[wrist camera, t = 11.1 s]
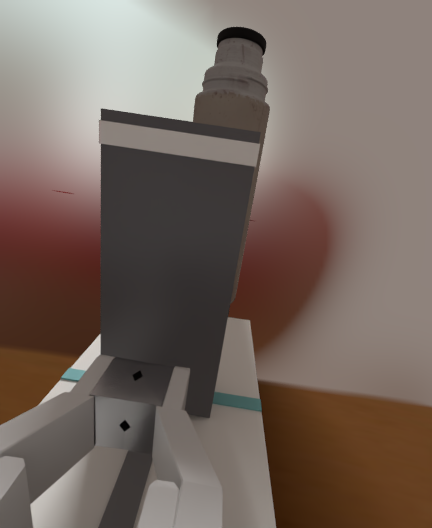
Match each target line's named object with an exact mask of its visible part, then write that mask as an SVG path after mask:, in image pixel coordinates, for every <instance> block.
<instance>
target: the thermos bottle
mask: <svg viewBox="0 0 432 528" xmlns="http://www.w3.org/2000/svg"><path fill="white" fill-rule="evenodd" d="M217 47H218V50H217V52H216V56H215V64H214V66H213V67H210V68H209V69H208V70H207V71H206V72H205V77H204V81H203V83H202V86H203V92H200V93H199V94H197V96H196V98H195V106H194V117H193V122H196V123H202V124H209V125H216V126H223V127H229V128H236V129H243V130H250V131H256V132H261V134H260V140H259V144H260V148H259V154H258V159H257V165H256V167H255V168H254V174H253V179H252V185H251V190H250V196H249V202H248V207H247V213H246V218H245V224H244V230H243V235H242V241H241V246H240V252H239V258H238V263H237V269H236V274H235V280H234V286H233V291H232V297H231V302H230V304H231V303H232V302H233V301H234V300H235V296H236V290H237V285H238V280H239V274H240V268H241V263H242V258H243V253H244V247H245V242H246V236H247V231H248V225H249V220H250V215H251V209H252V204H253V198H254V193H255V187H256V182H257V176H258V171H259V165H260V160H261V154H262V149H263V144H264V138H265V133H266V128H267V122H268V117H269V111H270V107H269V105H268V104H267V103H266V102H265V96H266V94H267V92H268V88H267V80H266V78H265V77H264V76H263V75H262V74H261V69H262V64H263V58H262V56H263V55H264V53H265V49H266V40H265V39H264V37H263V36H262V35H261V34H260V33H258V32H256V31H254V30H252V29H248V28H244V27H230V28H226V29H224V30H222V31H221V32H220V33H219V35H218V39H217Z"/></svg>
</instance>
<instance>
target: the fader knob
mask: <svg viewBox="0 0 432 528" xmlns="http://www.w3.org/2000/svg"><path fill="white" fill-rule="evenodd" d="M260 134H261V132H256V131H250V130H243V129H236V128H229V127H223V126H216V125H209V124H202V123H196V122H188V121H182V120H175V119H168V118H162V117H154V116H148V115H141V114H135V113H128V112H121V111H114V110H107V109H101V120H99V143H100V144H101V355H107V356H112V357H120V358H125V359H131V360H136V361H142V362H148V363H154V364H161V365H168V366H177V367H184V368H190V377H189V384H188V391H187V398H186V405H185V411H187V413H188V415H194V416H200V417H206V418H210V414H211V409H212V403H213V398H214V392H215V386H216V381H217V375H218V370H219V364H220V358H221V353H222V347H223V342H224V336H225V330H226V325H227V319H228V314H229V308H230V302H231V297H232V291H233V286H234V280H235V274H236V269H237V263H238V258H239V252H240V246H241V241H242V235H243V230H244V224H245V218H246V213H247V207H248V202H249V196H250V190H251V185H252V179H253V174H254V168H255V167H256V165H257V159H258V154H259V148H260V144H259V140H260Z"/></svg>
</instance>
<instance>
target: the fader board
mask: <svg viewBox="0 0 432 528" xmlns="http://www.w3.org/2000/svg"><path fill="white" fill-rule="evenodd" d="M99 355H101V334H100V335H99V336H98V337H97V338H96V340H95V341H94V342H93V343H92V344H91V345H90V346H89V348H88V349H87V350H86V351H85V352H84V353H83V354H82V356H81V357H80V358H79V359H78V360H77V361H76V362H75V364H74V365H73V366H72V367H71V368H69V369H68V370H67V371H66V372H65V373H64V375H63V376H62V377H61V380H60V381H59V382H58V383H57V384H56V385H55V387H54V388H53V389H52V390H51V391H50V392H49V393H48V395H47V396H46V397H45V398H44V399H43V400H42V402H41V403H40V404H42V403H44V402H46V401H48V400H50V399H52V398H54V397H56V396H58V395H59V394H61V393H63V392H70V391H71V390H72V389H73V387H74V386H75V385H76V384H77V382H78V381H79V380H80V378H81V377H82V376H83V374H84V373H85V372H86V371H87V369H88V368H89V367H90V365H91V364H92V363H93V361H94V360H95V359H96V358H97V357H98V356H99ZM40 404H39V405H40ZM261 411H262V408H261V400H260V397H259V389H258V381H257V373H256V365H255V358H254V350H253V342H252V334H251V326H250V321H249V320H243V319H237V318H231V317H228V319H227V325H226V330H225V336H224V342H223V347H222V353H221V358H220V364H219V370H218V375H217V381H216V386H215V392H214V398H213V403H212V409H211V414H210V418H206V417H200V416H194V415H188V416H189V418H190V420H191V422H192V424H193V426H194V428H195V430H196V433H197V435H198V437H199V439H200V441H201V443H202V445H203V448H204V450H205V452H206V454H207V456H208V458H209V460H210V463H211V465H212V467H213V469H214V471H215V473H216V475H217V478H218V480H219V482H220V484H221V486H222V488H223V501H222V528H276V523H275V515H274V507H273V499H272V491H271V483H270V475H269V468H268V460H267V452H266V444H265V436H264V428H263V420H262V412H261ZM155 480H157V476H156V472H155V467H154V463H153V459H152V455H151V454H145V453H140V452H135V451H130V450H124V449H117V448H109V447H101V446H94V448H93V449H92V450H91V451H90V452H89V453H88V454H87V455H86V456H84V457H83V458H82V459H81V460H80V461H79V462H78V463H77V464H75V465H74V466H73V467H72V468H71V469H70V470H69V471H68V472H66V473H65V474H64V475H63V476H62V477H61V478H60V479H59V480H57V481H56V482H55V483H54V484H53V485H52V486H51V487H50V488H48V489H47V490H46V491H45V492H44V493H43V494H42V495H41V496H39V497H38V498H37V499H36V500H35V501H34V502H33V503H32V504H30V506H31V514H32V522H33V528H137V527H138V523H139V520H140V516H141V513H142V509H143V505H144V502H145V498H146V495H147V491H148V488H149V485H150V484H151V483H153V482H154V481H155Z"/></svg>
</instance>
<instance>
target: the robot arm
mask: <svg viewBox="0 0 432 528" xmlns="http://www.w3.org/2000/svg"><path fill="white" fill-rule="evenodd" d="M189 377H190V368H184V367H177V366H168V365H161V364H154V363H148V362H142V361H136V360H131V359H125V358H120V357H112V356H107V355H99V356H98V357H97V358H96V359H95V360H94V361H93V363H92V364H91V365H90V367H89V368H88V369H87V371H86V372H85V373H84V374H83V376H82V377H81V378H80V380H79V381H78V382H77V384H76V385H75V386H74V387H73V389H72V390H71V391H70V392H63V393H61V394H59V395H58V396H56V397H54V398H52V399H50V400H48V401H46V402H44V403H42V404H40V405H38V406H37V407H35V408H33V409H31V410H29V411H27V412H25V413H23V414H21V415H19V416H17V417H16V418H14V419H12V420H10V421H8V422H6V423H4V424H2V425H0V528H33V522H32V514H31V506H30V504H32V503H33V502H34V501H35V500H36V499H37V498H38V497H39V496H41V495H42V494H43V493H44V492H45V491H46V490H47V489H48V488H50V487H51V486H52V485H53V484H54V483H55V482H56V481H57V480H59V479H60V478H61V477H62V476H63V475H64V474H65V473H66V472H68V471H69V470H70V469H71V468H72V467H73V466H74V465H75V464H77V463H78V462H79V461H80V460H81V459H82V458H83V457H84V456H86V455H87V454H88V453H89V452H90V451H91V450H92V449H93V448H94V446H101V447H109V448H117V449H124V450H130V451H135V452H140V453H145V454H151V455H152V459H153V463H154V467H155V472H156V476H157V480H155V481H154V482H153V483H151V484H150V485H149V488H148V491H147V495H146V498H145V502H144V505H143V509H142V513H141V516H140V520H139V523H138V527H137V528H222V501H223V488H222V486H221V484H220V482H219V480H218V478H217V475H216V473H215V471H214V469H213V467H212V465H211V463H210V460H209V458H208V456H207V454H206V452H205V450H204V448H203V445H202V443H201V441H200V439H199V437H198V435H197V433H196V430H195V428H194V426H193V424H192V422H191V420H190V418H189V416H188V413H187V411H185V405H186V398H187V391H188V384H189Z"/></svg>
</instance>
